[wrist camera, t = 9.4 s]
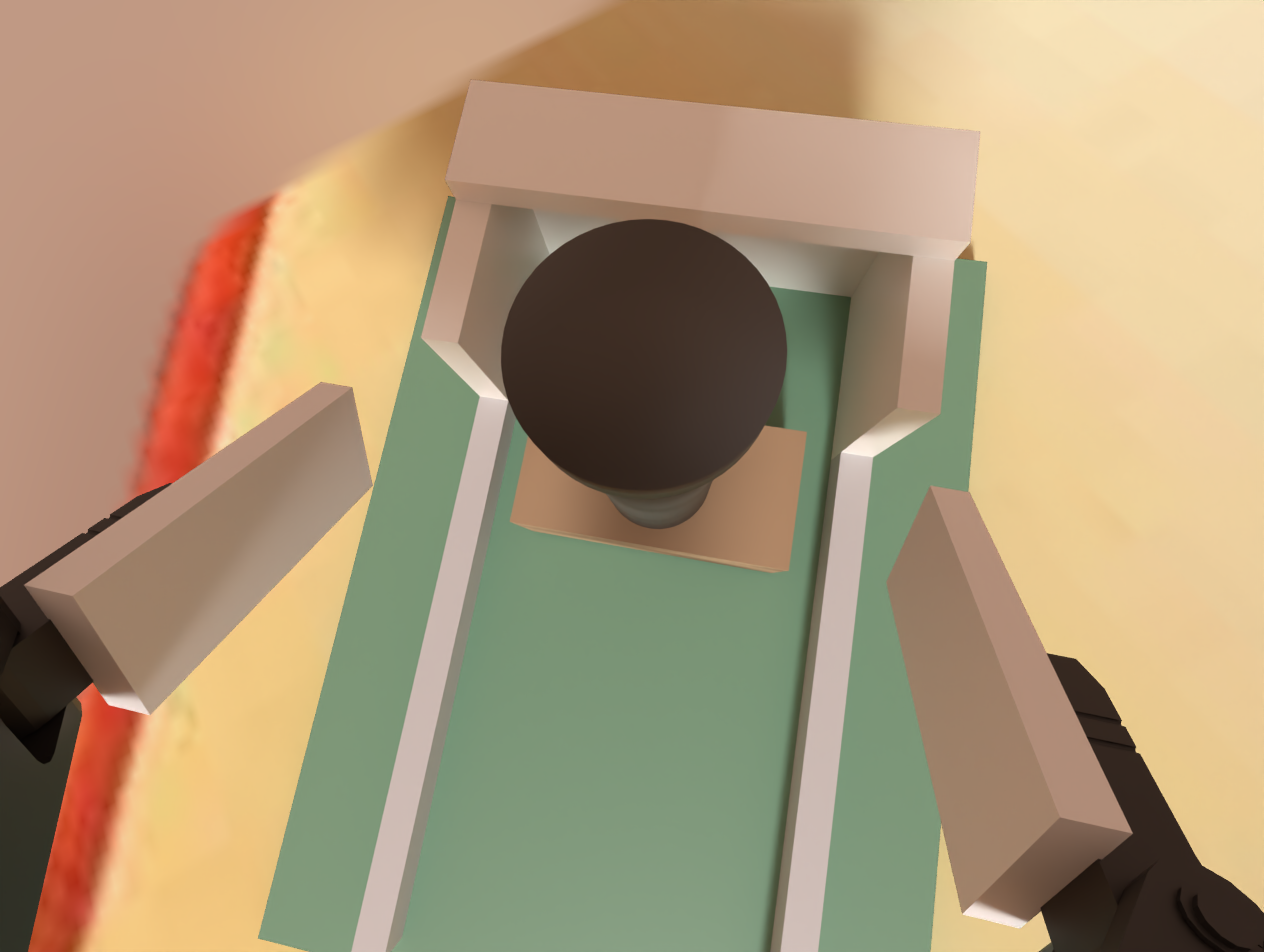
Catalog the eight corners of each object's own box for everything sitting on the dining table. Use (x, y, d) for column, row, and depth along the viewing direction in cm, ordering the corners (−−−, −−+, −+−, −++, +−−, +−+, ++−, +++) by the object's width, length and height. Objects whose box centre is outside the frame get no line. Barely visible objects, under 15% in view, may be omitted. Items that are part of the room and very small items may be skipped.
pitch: (975, 273, 22) (1005, 242, 20) (906, 1083, 17) (936, 1147, 15) (455, 209, 24) (436, 174, 22) (274, 924, 19) (229, 962, 17)
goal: (882, 275, 21) (980, 131, 14) (861, 465, 20) (956, 404, 13) (530, 230, 22) (470, 79, 16) (490, 406, 21) (407, 324, 15)
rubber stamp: (787, 454, 20) (966, 249, 8) (770, 573, 19) (940, 549, 7) (556, 418, 21) (393, 181, 9) (533, 531, 20) (321, 446, 8)
